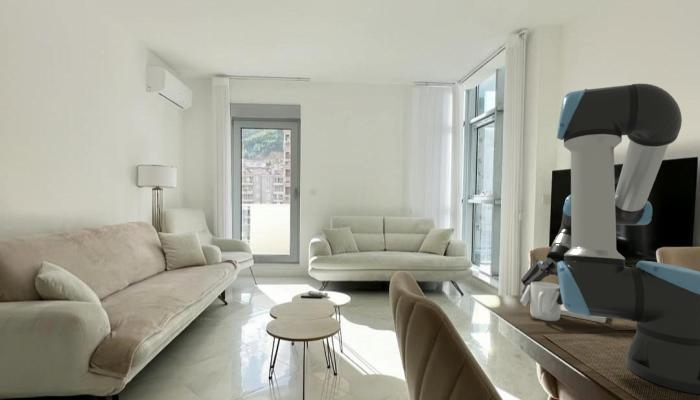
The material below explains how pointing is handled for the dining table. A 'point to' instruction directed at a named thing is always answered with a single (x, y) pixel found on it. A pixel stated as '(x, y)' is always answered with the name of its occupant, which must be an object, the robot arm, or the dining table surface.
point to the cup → (544, 300)
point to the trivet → (592, 318)
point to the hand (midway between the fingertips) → (536, 307)
